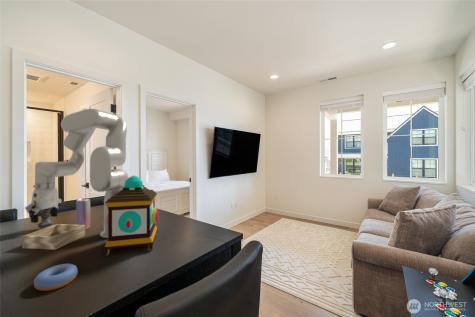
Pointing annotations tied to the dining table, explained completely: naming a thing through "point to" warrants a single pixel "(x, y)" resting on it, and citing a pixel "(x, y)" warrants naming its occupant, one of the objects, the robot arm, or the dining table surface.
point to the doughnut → (55, 277)
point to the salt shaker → (45, 219)
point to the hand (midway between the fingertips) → (44, 219)
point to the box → (53, 236)
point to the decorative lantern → (131, 216)
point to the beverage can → (83, 212)
